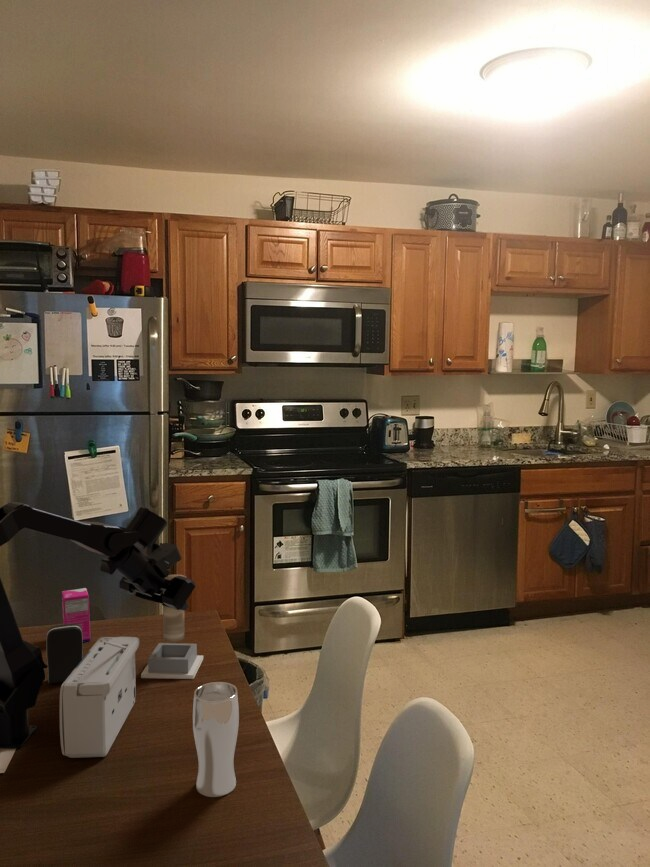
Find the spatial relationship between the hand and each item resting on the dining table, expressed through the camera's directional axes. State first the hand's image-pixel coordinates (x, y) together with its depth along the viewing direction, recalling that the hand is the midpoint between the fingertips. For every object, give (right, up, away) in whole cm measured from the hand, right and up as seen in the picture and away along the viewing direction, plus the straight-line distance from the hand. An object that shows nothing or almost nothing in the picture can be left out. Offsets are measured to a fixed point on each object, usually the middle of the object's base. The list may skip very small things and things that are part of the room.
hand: (178, 605), depth 143 cm
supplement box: (-28, -12, +16) cm, 34 cm away
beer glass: (+15, -17, -41) cm, 47 cm away
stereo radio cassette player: (-8, -16, -25) cm, 30 cm away
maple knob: (-1, -7, -1) cm, 7 cm away
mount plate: (-1, -14, 0) cm, 14 cm away
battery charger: (-22, -14, -5) cm, 27 cm away
